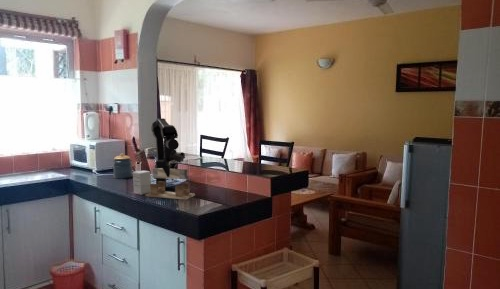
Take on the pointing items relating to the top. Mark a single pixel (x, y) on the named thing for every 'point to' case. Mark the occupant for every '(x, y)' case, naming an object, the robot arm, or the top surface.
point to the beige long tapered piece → (179, 193)
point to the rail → (173, 173)
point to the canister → (122, 167)
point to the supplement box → (141, 182)
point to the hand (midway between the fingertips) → (170, 176)
